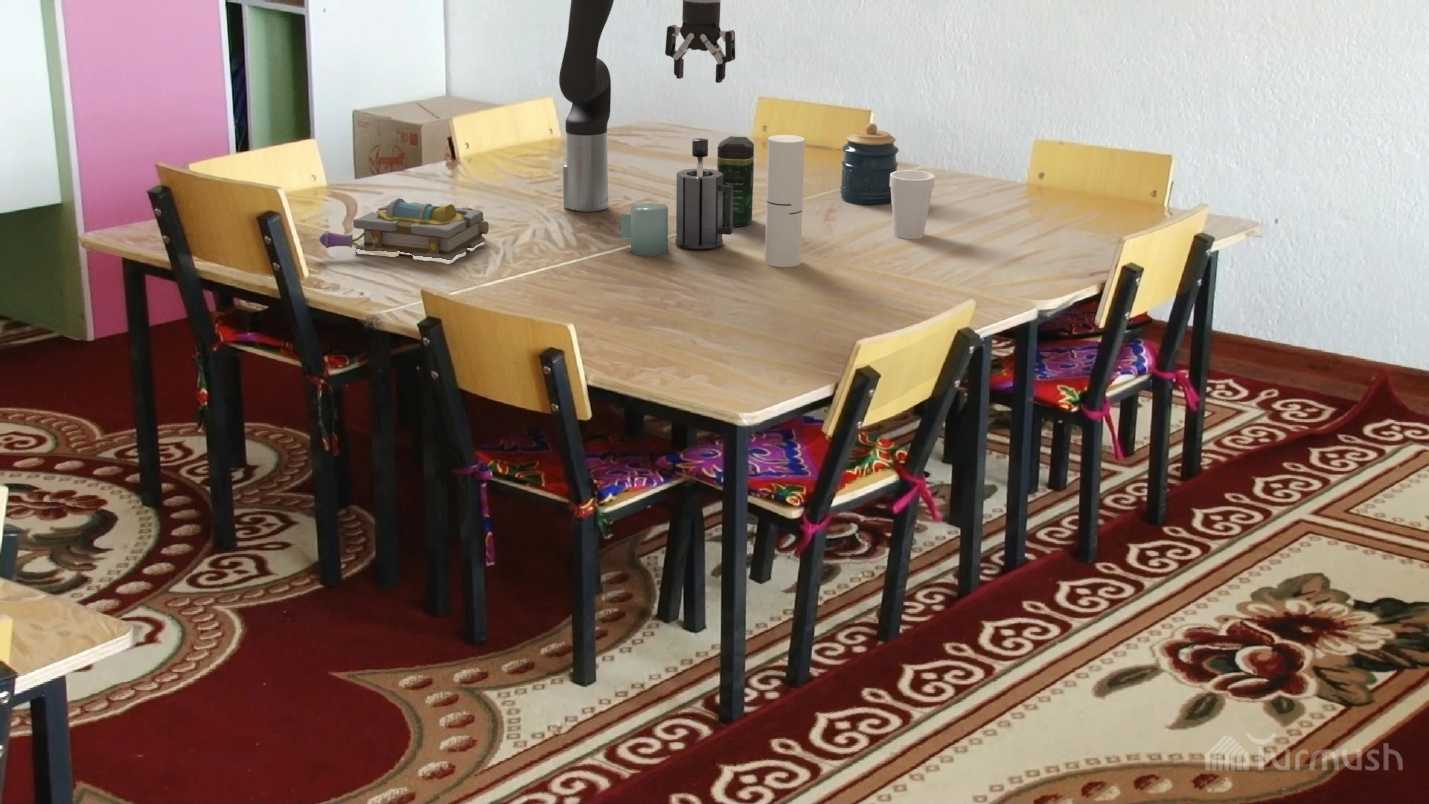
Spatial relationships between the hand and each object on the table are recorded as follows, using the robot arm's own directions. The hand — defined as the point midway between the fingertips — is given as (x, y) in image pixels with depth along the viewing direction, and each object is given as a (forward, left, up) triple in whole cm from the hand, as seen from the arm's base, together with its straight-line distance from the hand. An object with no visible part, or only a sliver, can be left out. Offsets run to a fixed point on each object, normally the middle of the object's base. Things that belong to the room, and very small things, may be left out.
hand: (699, 80), depth 319 cm
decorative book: (-53, -29, -34) cm, 69 cm away
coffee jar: (+3, +17, -34) cm, 38 cm away
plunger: (+2, -3, -29) cm, 29 cm away
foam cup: (+41, +21, -34) cm, 57 cm away
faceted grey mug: (+3, -3, -33) cm, 34 cm away
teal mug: (-8, -11, -33) cm, 36 cm away
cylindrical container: (+22, -9, -34) cm, 41 cm away
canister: (+25, +49, -34) cm, 64 cm away
